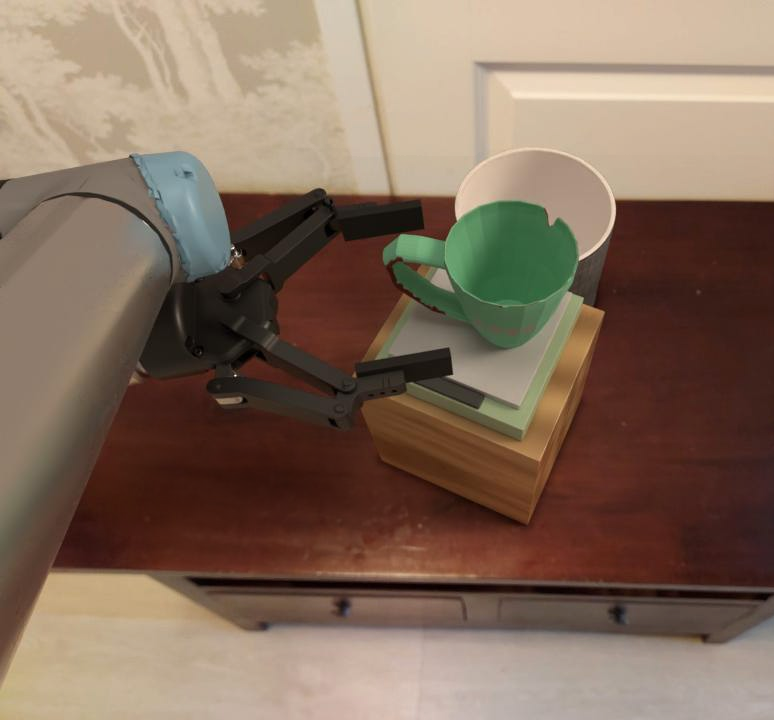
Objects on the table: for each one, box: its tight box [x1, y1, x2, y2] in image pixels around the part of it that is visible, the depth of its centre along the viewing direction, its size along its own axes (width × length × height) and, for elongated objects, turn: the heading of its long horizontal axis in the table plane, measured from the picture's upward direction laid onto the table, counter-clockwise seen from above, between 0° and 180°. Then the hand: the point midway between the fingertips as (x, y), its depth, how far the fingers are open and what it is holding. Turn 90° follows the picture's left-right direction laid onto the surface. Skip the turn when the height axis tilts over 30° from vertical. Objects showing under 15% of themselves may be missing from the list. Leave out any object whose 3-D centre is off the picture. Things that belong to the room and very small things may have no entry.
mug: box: [382, 200, 579, 348], centre depth 52 cm, size 15×10×10 cm
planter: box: [454, 146, 617, 308], centre depth 79 cm, size 18×18×16 cm
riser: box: [351, 264, 606, 526], centre depth 67 cm, size 16×18×20 cm
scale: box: [375, 267, 584, 441], centre depth 57 cm, size 14×14×3 cm
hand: (436, 282), depth 49 cm, fingers open, 13 cm apart
